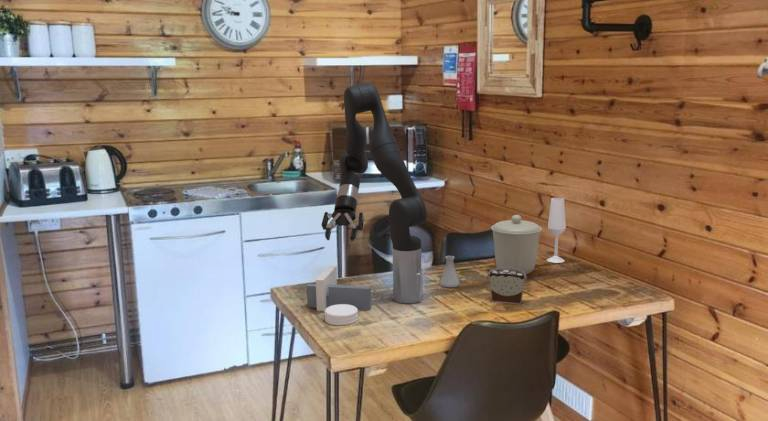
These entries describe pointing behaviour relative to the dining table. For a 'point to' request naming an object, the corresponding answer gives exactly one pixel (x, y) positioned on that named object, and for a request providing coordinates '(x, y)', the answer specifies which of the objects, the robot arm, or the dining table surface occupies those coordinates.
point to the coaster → (341, 314)
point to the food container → (506, 285)
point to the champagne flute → (556, 224)
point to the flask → (449, 274)
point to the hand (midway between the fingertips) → (339, 239)
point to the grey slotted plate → (342, 296)
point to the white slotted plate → (325, 286)
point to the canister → (516, 243)
